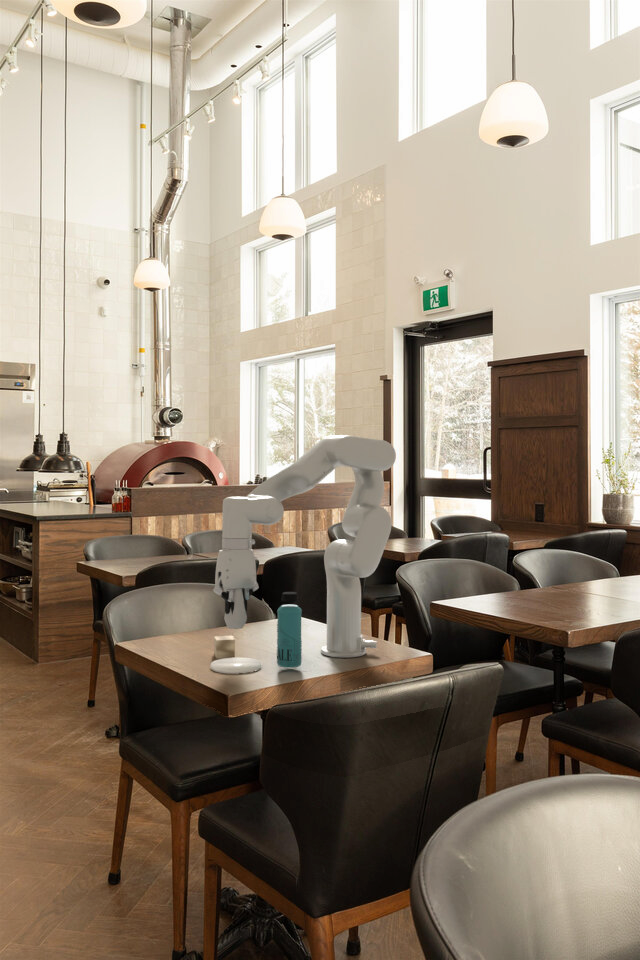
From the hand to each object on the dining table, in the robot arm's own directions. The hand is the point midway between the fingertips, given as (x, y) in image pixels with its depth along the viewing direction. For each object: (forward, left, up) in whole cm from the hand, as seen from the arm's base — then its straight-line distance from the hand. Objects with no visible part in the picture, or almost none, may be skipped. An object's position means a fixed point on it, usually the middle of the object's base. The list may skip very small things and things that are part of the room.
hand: (236, 615), depth 208 cm
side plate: (0, 0, -14) cm, 14 cm away
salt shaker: (0, 0, -3) cm, 3 cm away
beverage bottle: (-14, +1, -14) cm, 20 cm away
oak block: (+6, -12, -14) cm, 19 cm away
